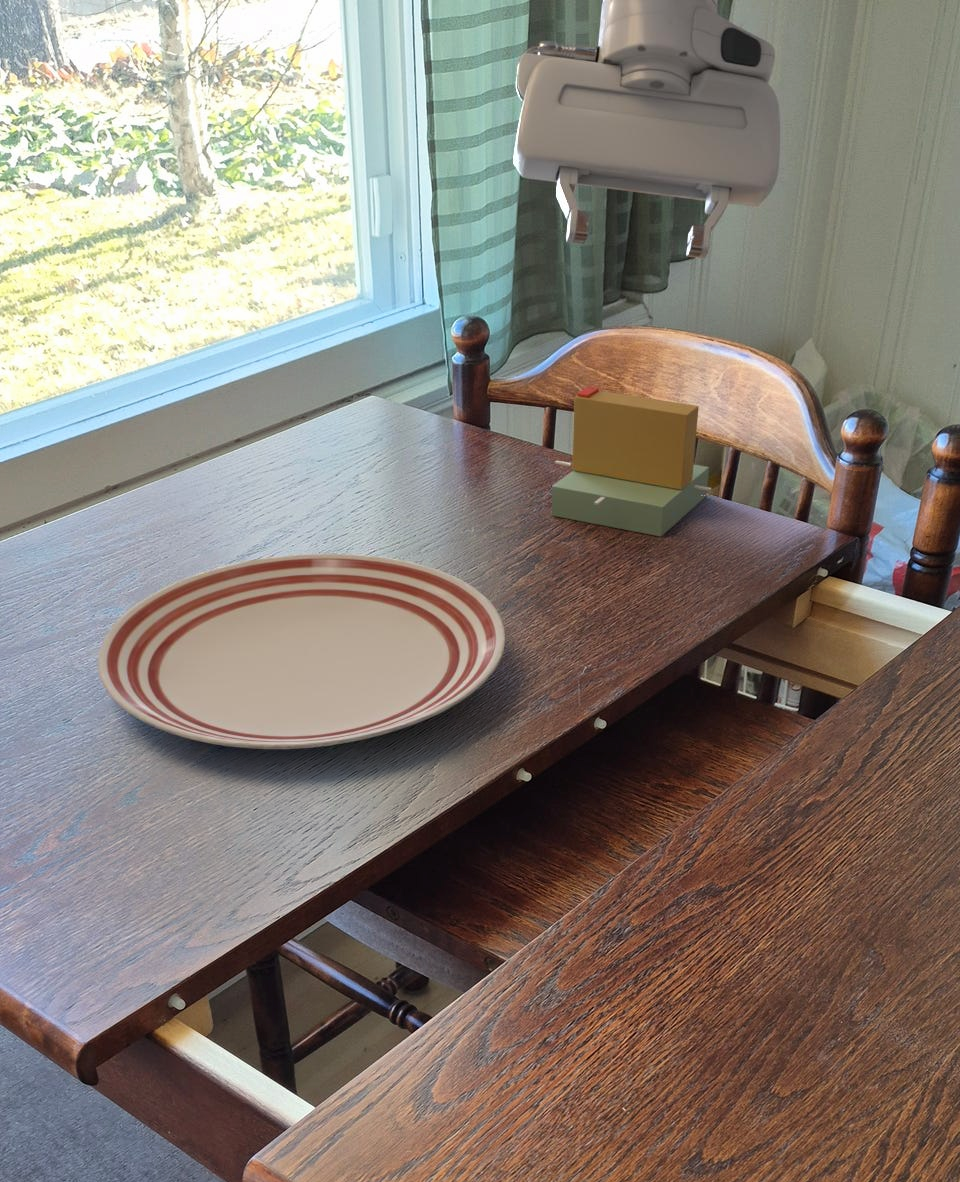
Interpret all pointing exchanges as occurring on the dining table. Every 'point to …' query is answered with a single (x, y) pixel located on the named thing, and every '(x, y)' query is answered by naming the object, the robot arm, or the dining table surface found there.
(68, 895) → the dining table surface
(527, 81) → the robot arm
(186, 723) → the dinner plate
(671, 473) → the tan box
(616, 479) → the green base slab
